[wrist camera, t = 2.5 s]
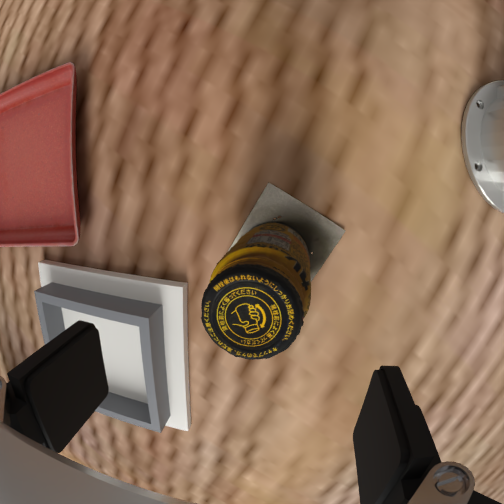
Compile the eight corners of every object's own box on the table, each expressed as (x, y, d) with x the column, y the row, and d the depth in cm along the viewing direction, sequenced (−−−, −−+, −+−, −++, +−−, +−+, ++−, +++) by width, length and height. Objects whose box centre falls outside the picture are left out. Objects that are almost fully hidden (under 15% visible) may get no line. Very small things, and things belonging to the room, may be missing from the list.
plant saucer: (92, 65, 26) (73, 58, 23) (97, 239, 30) (78, 246, 27) (-7, 108, 29) (-25, 107, 25) (-1, 241, 33) (-18, 247, 30)
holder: (44, 259, 31) (20, 269, 27) (187, 282, 29) (169, 300, 25) (69, 386, 36) (52, 402, 32) (191, 424, 34) (179, 448, 30)
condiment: (218, 267, 28) (164, 330, 17) (268, 182, 26) (240, 191, 14) (290, 310, 28) (278, 397, 17) (345, 229, 26) (375, 276, 14)
